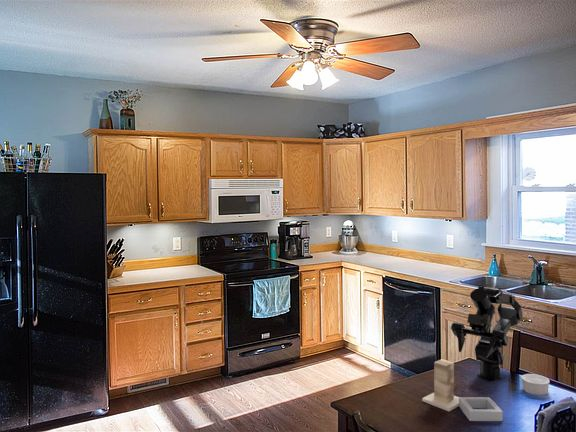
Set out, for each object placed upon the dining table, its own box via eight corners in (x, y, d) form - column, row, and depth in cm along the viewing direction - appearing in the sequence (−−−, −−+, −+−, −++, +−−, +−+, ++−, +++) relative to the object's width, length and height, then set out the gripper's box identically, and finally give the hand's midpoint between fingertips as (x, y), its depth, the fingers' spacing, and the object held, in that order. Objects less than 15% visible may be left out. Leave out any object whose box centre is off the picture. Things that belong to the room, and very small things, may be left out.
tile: (438, 392, 163) (438, 390, 163) (465, 402, 155) (465, 399, 155) (422, 401, 156) (422, 398, 156) (449, 411, 149) (449, 408, 149)
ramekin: (543, 398, 158) (544, 385, 158) (516, 390, 164) (517, 378, 164) (553, 390, 164) (553, 378, 164) (526, 383, 170) (527, 371, 170)
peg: (441, 394, 159) (441, 359, 158) (453, 399, 155) (453, 362, 155) (434, 398, 156) (434, 362, 155) (446, 403, 152) (446, 365, 152)
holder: (458, 406, 152) (458, 397, 152) (489, 406, 152) (489, 397, 152) (469, 421, 142) (469, 411, 142) (502, 421, 142) (502, 411, 142)
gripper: (452, 300, 172) (440, 337, 164) (505, 308, 159) (494, 348, 152) (460, 317, 178) (449, 353, 170) (512, 326, 166) (502, 365, 158)
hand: (472, 354), depth 162 cm, fingers open, 9 cm apart
